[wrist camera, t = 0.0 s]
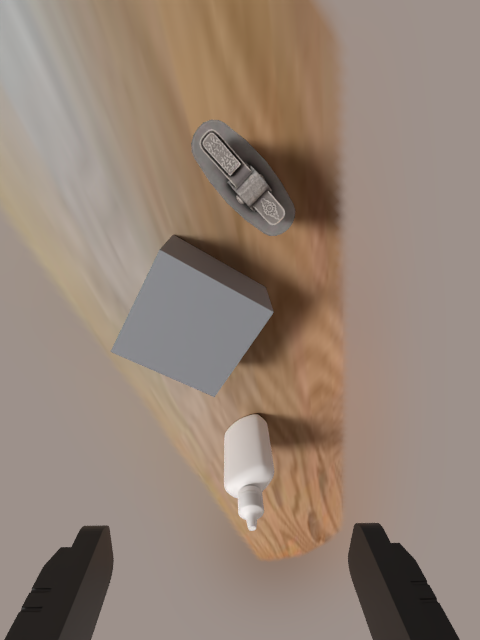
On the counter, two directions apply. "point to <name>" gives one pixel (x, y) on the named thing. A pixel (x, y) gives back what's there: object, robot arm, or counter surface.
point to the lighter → (242, 177)
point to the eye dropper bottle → (248, 465)
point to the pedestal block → (193, 318)
